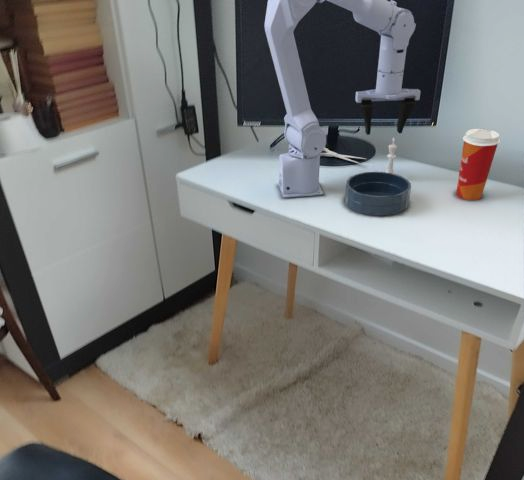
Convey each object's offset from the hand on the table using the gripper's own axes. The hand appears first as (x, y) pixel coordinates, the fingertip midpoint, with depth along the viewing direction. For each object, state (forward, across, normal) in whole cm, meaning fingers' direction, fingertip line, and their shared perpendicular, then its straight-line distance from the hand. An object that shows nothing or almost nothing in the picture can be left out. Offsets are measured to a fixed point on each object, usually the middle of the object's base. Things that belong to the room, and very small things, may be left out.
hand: (383, 132), depth 130 cm
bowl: (+10, -4, -16) cm, 19 cm away
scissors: (+10, -9, +14) cm, 20 cm away
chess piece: (+11, +2, -2) cm, 11 cm away
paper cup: (+11, +18, -14) cm, 25 cm away
